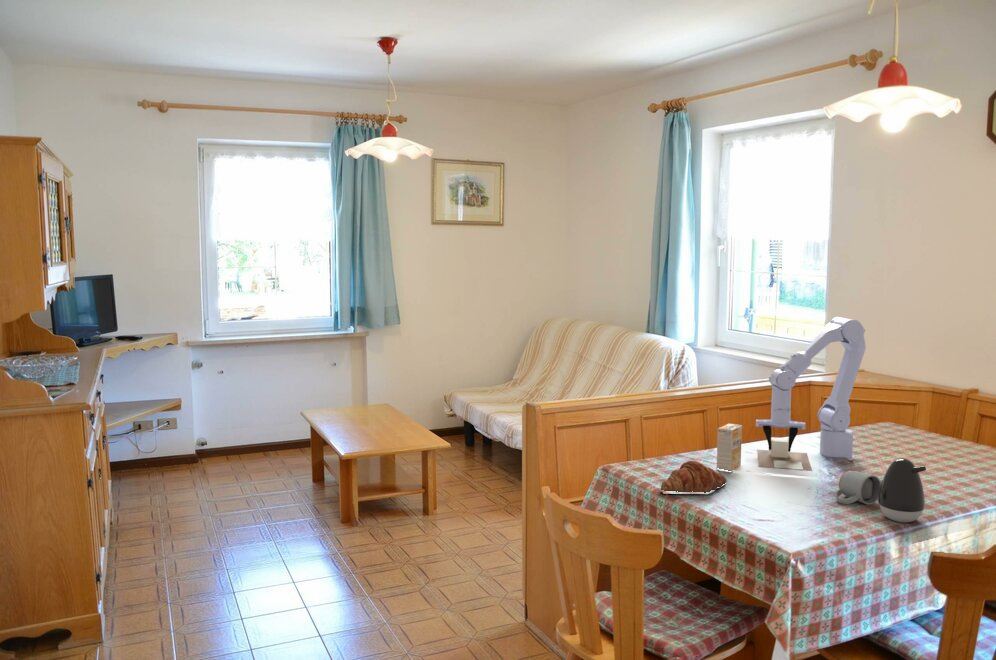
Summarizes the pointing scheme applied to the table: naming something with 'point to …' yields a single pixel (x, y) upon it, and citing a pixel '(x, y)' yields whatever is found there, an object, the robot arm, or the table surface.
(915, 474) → the pump dispenser
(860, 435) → the table surface
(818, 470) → the table surface
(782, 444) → the off-white matte cube
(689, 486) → the pastry
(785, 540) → the table surface
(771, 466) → the walnut board
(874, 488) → the ceramic mug
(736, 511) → the table surface
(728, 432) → the supplement box
